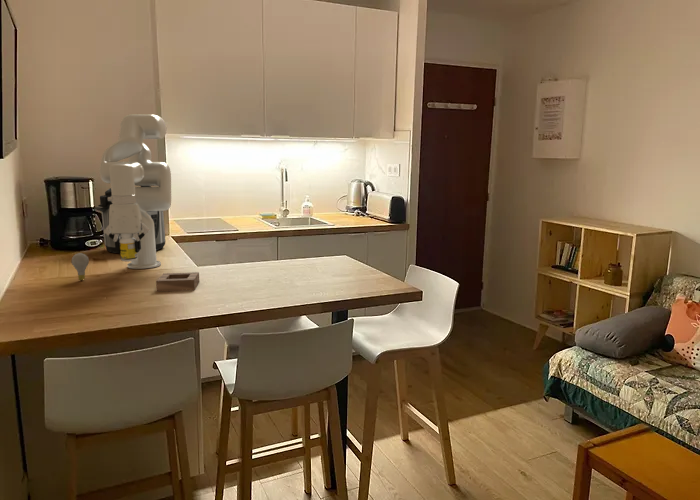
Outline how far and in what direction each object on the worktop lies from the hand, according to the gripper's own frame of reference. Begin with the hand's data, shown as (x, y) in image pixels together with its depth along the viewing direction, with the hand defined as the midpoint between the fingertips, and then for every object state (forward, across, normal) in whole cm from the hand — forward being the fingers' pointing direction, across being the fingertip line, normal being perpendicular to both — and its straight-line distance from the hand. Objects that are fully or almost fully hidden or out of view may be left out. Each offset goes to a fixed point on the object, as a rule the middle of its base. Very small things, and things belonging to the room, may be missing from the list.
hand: (128, 251), depth 193 cm
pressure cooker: (+15, -15, +70) cm, 73 cm away
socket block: (+10, +18, -11) cm, 23 cm away
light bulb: (+11, -18, +4) cm, 22 cm away
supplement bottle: (+3, 0, 0) cm, 3 cm away
